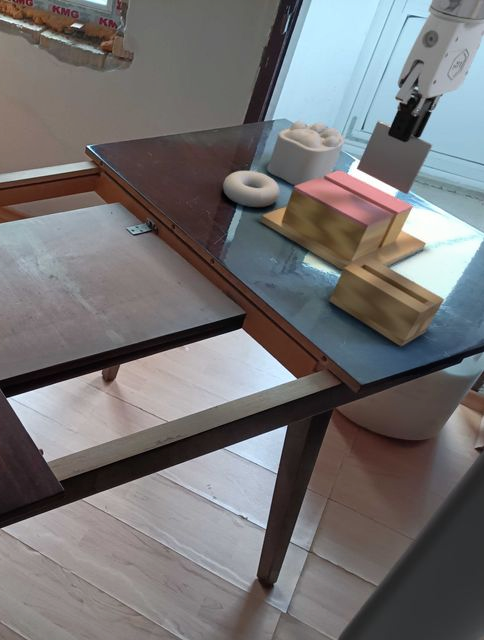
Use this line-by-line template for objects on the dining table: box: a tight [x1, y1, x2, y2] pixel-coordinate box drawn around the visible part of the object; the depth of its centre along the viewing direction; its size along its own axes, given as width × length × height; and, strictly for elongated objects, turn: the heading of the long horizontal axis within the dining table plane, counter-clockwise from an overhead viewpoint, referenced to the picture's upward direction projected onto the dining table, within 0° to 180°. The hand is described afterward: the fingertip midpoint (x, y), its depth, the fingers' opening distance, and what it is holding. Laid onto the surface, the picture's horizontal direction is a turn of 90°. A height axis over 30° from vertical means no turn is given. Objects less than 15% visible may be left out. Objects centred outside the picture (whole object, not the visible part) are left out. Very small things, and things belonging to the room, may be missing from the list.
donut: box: [222, 170, 281, 208], centre depth 124 cm, size 10×4×10 cm
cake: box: [259, 177, 427, 271], centre depth 114 cm, size 20×18×8 cm
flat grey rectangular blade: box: [356, 96, 433, 195], centre depth 103 cm, size 9×2×13 cm, turn 34°
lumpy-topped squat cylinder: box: [266, 120, 345, 186], centre depth 132 cm, size 10×13×9 cm
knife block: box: [328, 257, 445, 347], centre depth 98 cm, size 12×6×6 cm, turn 34°
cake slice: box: [324, 169, 414, 248], centre depth 115 cm, size 14×4×7 cm, turn 34°
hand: (403, 135), depth 102 cm, fingers closed on flat grey rectangular blade, 2 cm apart
